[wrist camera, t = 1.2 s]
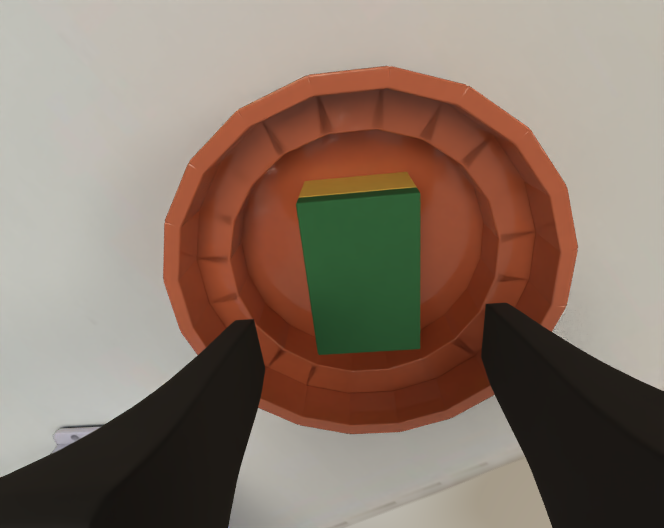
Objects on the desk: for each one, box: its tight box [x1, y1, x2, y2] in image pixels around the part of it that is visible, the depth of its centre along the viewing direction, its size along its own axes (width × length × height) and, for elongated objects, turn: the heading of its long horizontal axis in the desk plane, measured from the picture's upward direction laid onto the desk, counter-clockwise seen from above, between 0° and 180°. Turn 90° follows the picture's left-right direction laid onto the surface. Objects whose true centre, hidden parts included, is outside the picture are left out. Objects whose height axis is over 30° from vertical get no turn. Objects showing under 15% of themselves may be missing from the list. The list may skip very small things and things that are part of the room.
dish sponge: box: [296, 172, 421, 355], centre depth 17 cm, size 4×7×3 cm, turn 6°
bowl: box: [163, 66, 578, 434], centre depth 17 cm, size 15×15×4 cm
